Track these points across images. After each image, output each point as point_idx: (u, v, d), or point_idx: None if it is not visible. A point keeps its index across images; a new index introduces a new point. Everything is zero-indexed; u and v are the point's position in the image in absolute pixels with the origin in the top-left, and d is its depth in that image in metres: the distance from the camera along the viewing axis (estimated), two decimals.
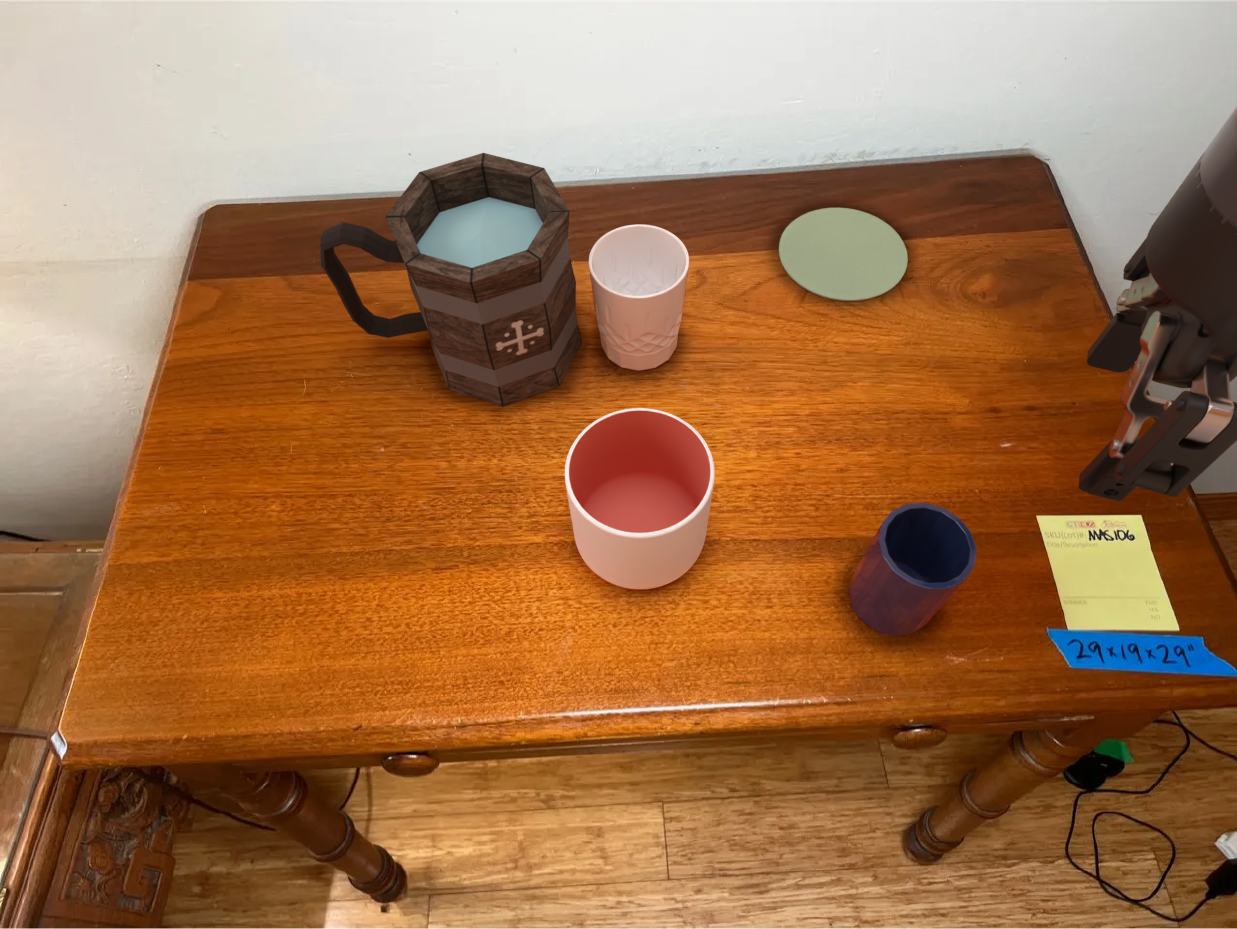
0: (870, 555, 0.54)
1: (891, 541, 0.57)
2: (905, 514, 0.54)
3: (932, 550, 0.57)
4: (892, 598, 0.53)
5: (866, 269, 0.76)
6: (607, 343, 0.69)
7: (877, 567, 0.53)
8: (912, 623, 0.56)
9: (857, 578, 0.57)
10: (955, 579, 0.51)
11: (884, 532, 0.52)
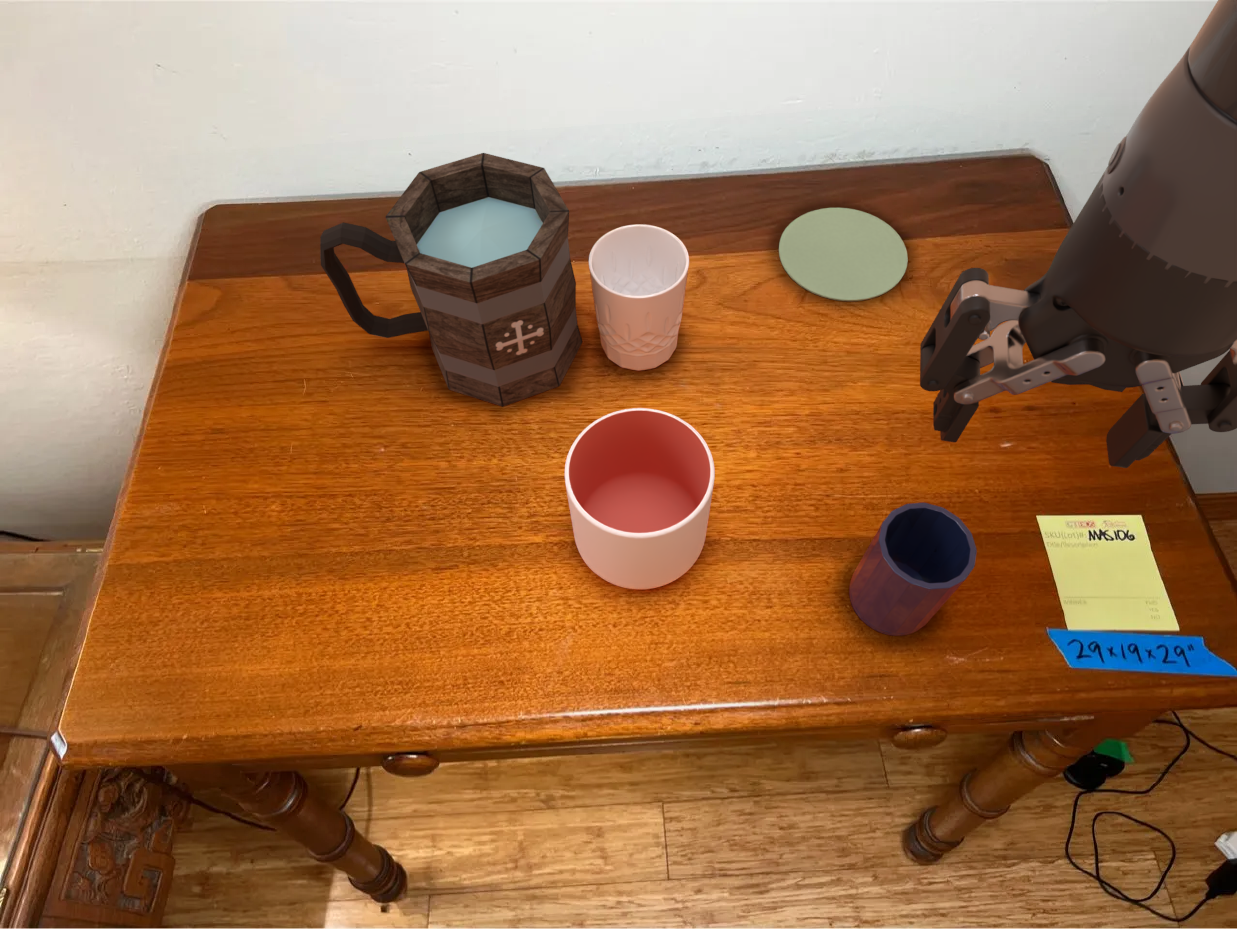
0: (870, 555, 0.54)
1: (891, 541, 0.57)
2: (905, 514, 0.54)
3: (932, 550, 0.57)
4: (892, 598, 0.53)
5: (866, 269, 0.76)
6: (607, 343, 0.69)
7: (877, 567, 0.53)
8: (912, 623, 0.56)
9: (857, 578, 0.57)
10: (955, 579, 0.51)
11: (884, 532, 0.52)
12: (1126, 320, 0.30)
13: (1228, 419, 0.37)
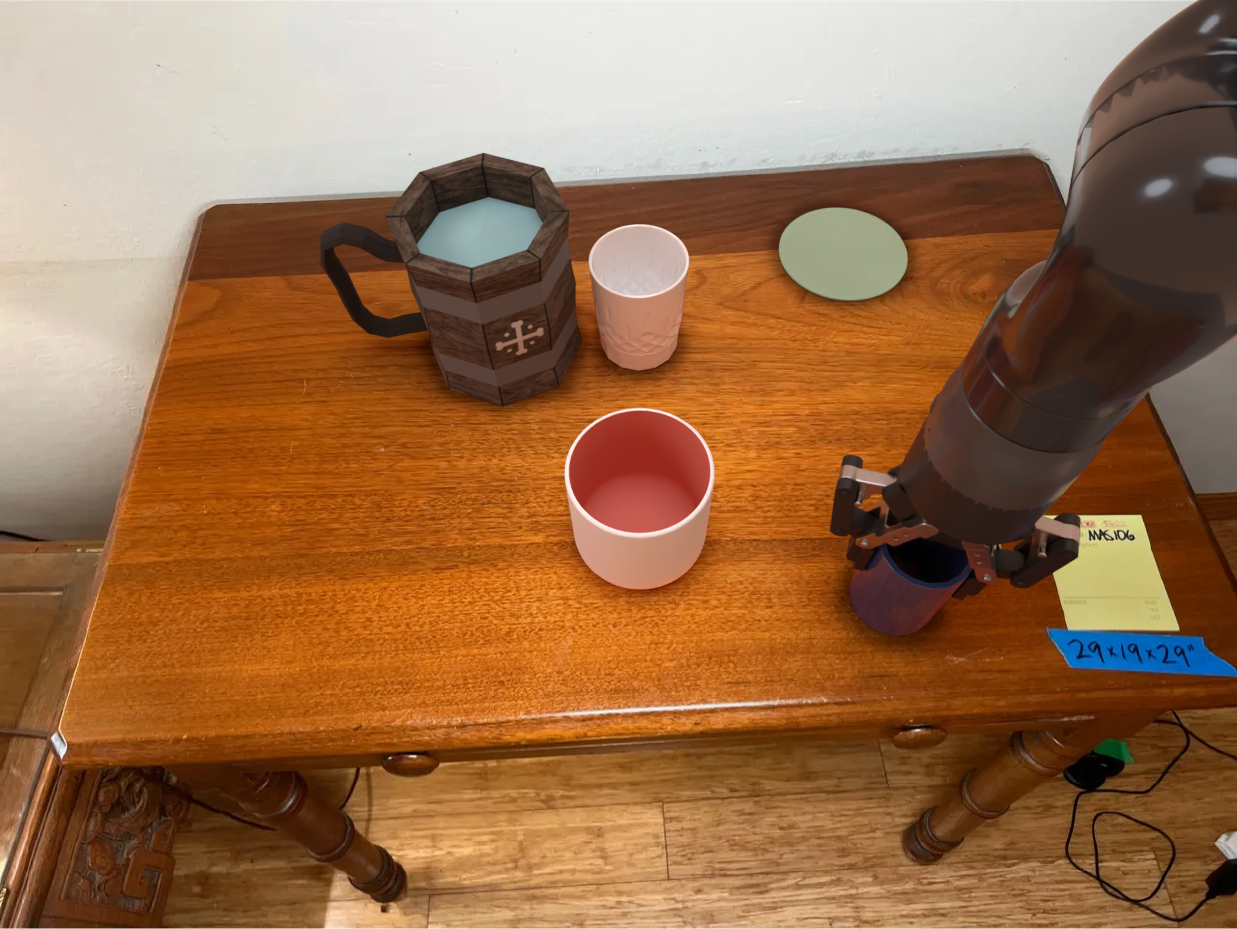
0: None
1: None
2: None
3: (932, 550, 0.57)
4: (892, 598, 0.53)
5: (866, 269, 0.76)
6: (607, 343, 0.69)
7: (877, 567, 0.53)
8: (912, 623, 0.56)
9: (857, 578, 0.57)
10: (955, 579, 0.51)
11: None
12: (935, 514, 0.43)
13: (1023, 581, 0.49)
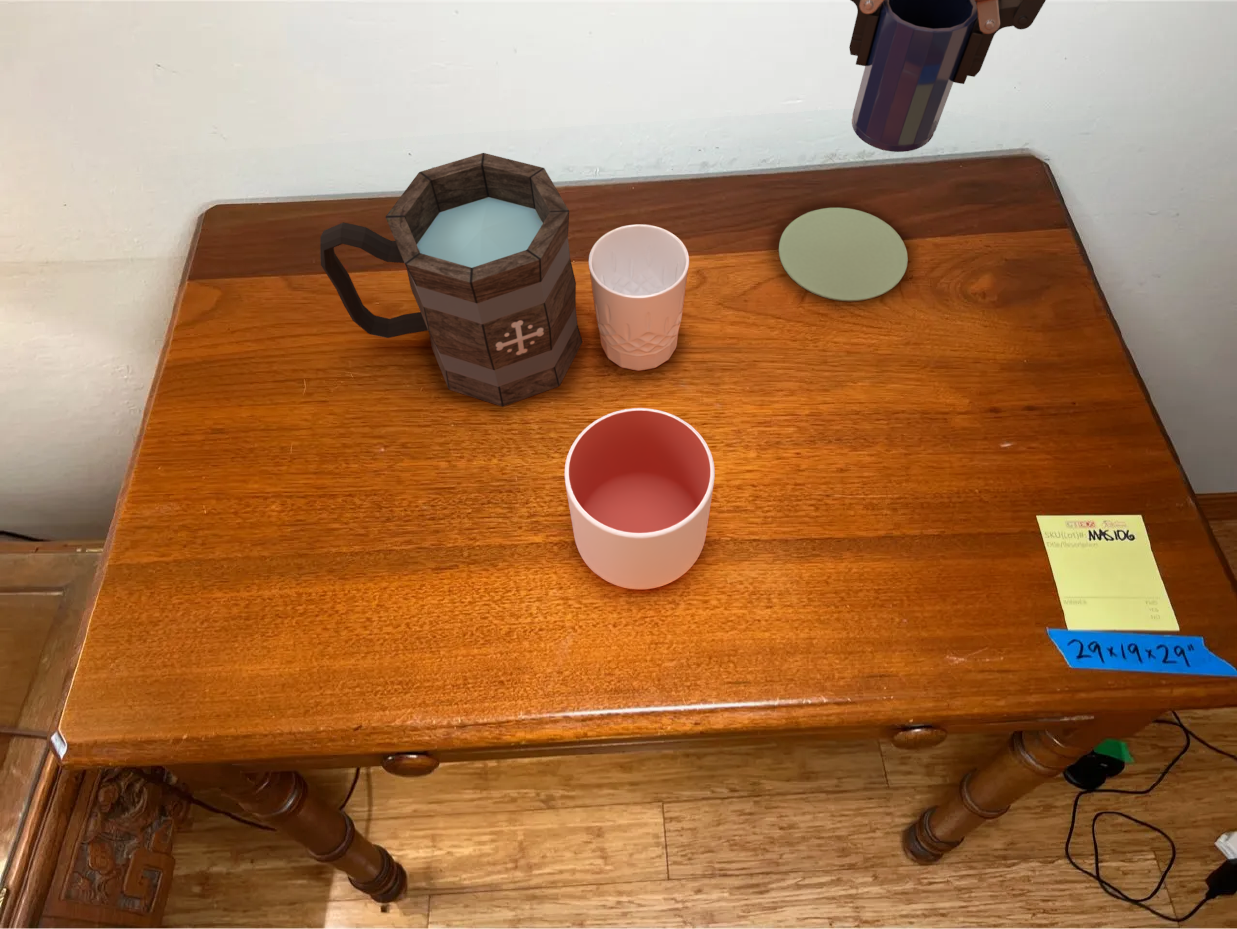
0: (873, 36, 0.54)
1: None
2: None
3: None
4: (895, 73, 0.54)
5: (866, 269, 0.76)
6: (607, 343, 0.69)
7: (880, 37, 0.53)
8: (915, 120, 0.56)
9: (860, 88, 0.58)
10: (958, 25, 0.51)
11: None
12: None
13: (1025, 13, 0.50)
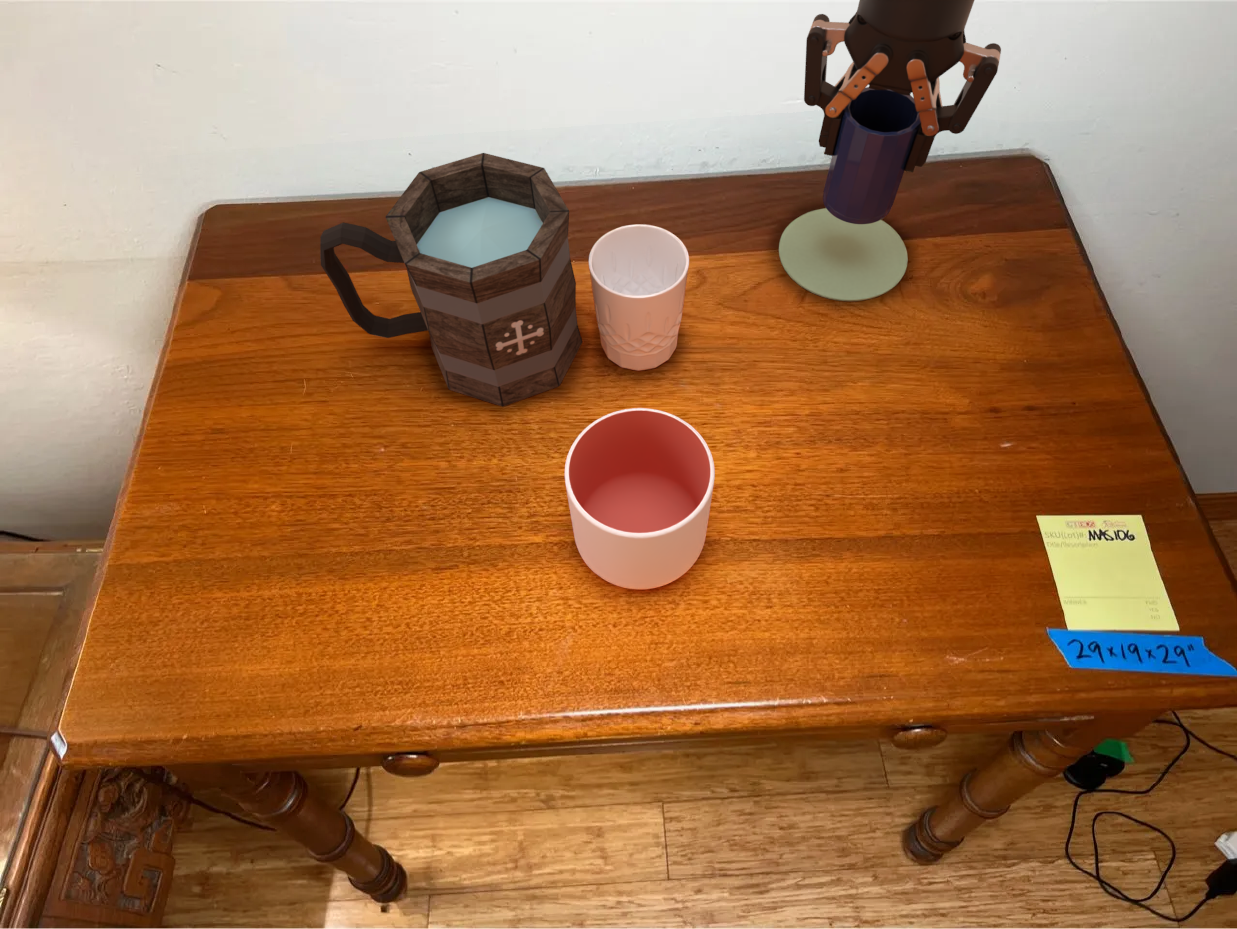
0: (838, 133, 0.66)
1: None
2: (866, 97, 0.66)
3: None
4: (855, 164, 0.65)
5: (866, 269, 0.76)
6: (607, 343, 0.69)
7: (843, 135, 0.65)
8: (873, 200, 0.68)
9: (828, 172, 0.69)
10: (905, 129, 0.63)
11: None
12: (882, 15, 0.55)
13: (958, 121, 0.61)
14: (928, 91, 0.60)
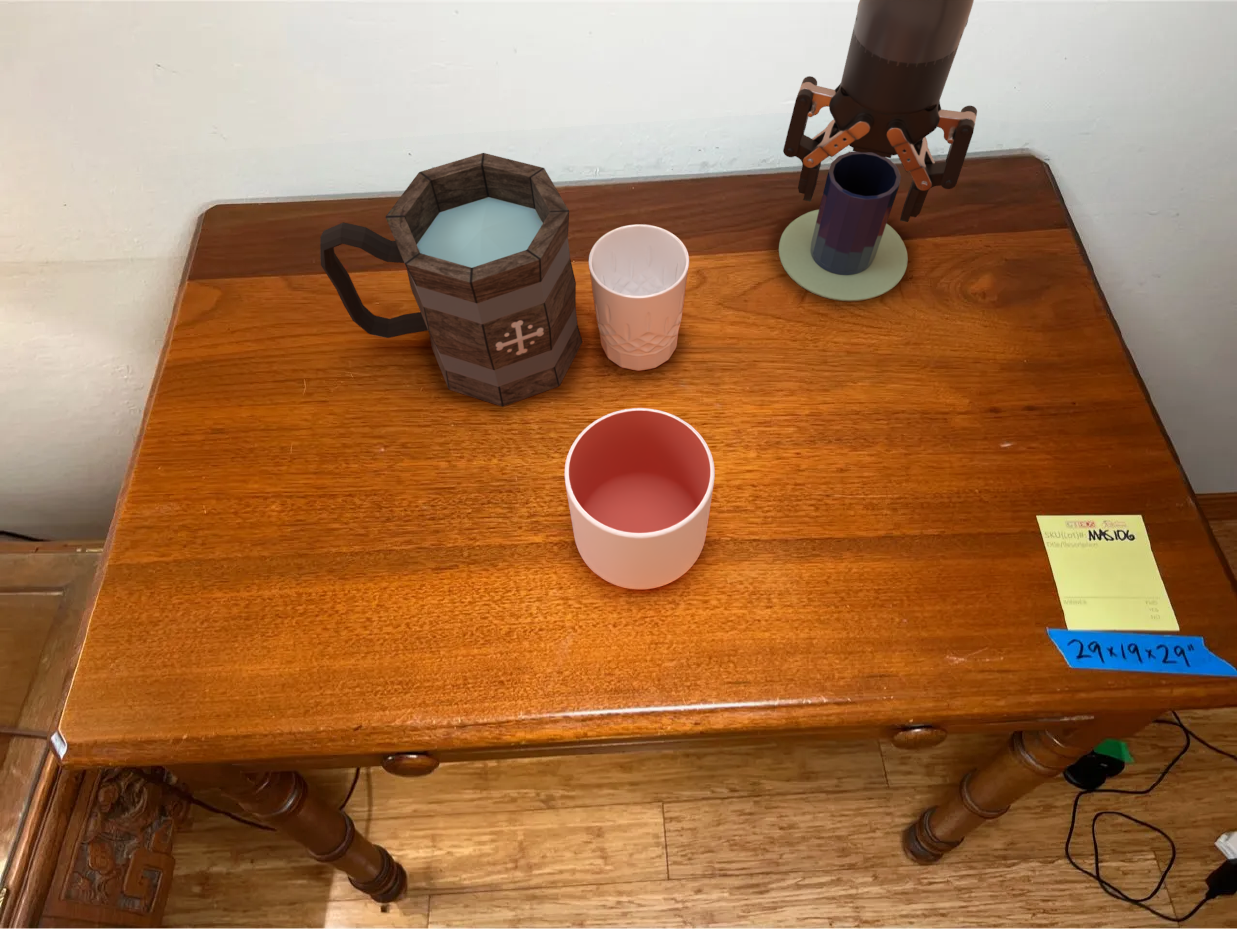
0: (823, 194, 0.71)
1: None
2: (849, 161, 0.71)
3: None
4: (839, 223, 0.71)
5: (866, 269, 0.76)
6: (607, 343, 0.69)
7: (827, 197, 0.70)
8: (856, 254, 0.73)
9: (815, 227, 0.75)
10: (884, 193, 0.68)
11: (832, 167, 0.70)
12: (863, 91, 0.60)
13: (949, 178, 0.66)
14: (912, 153, 0.64)
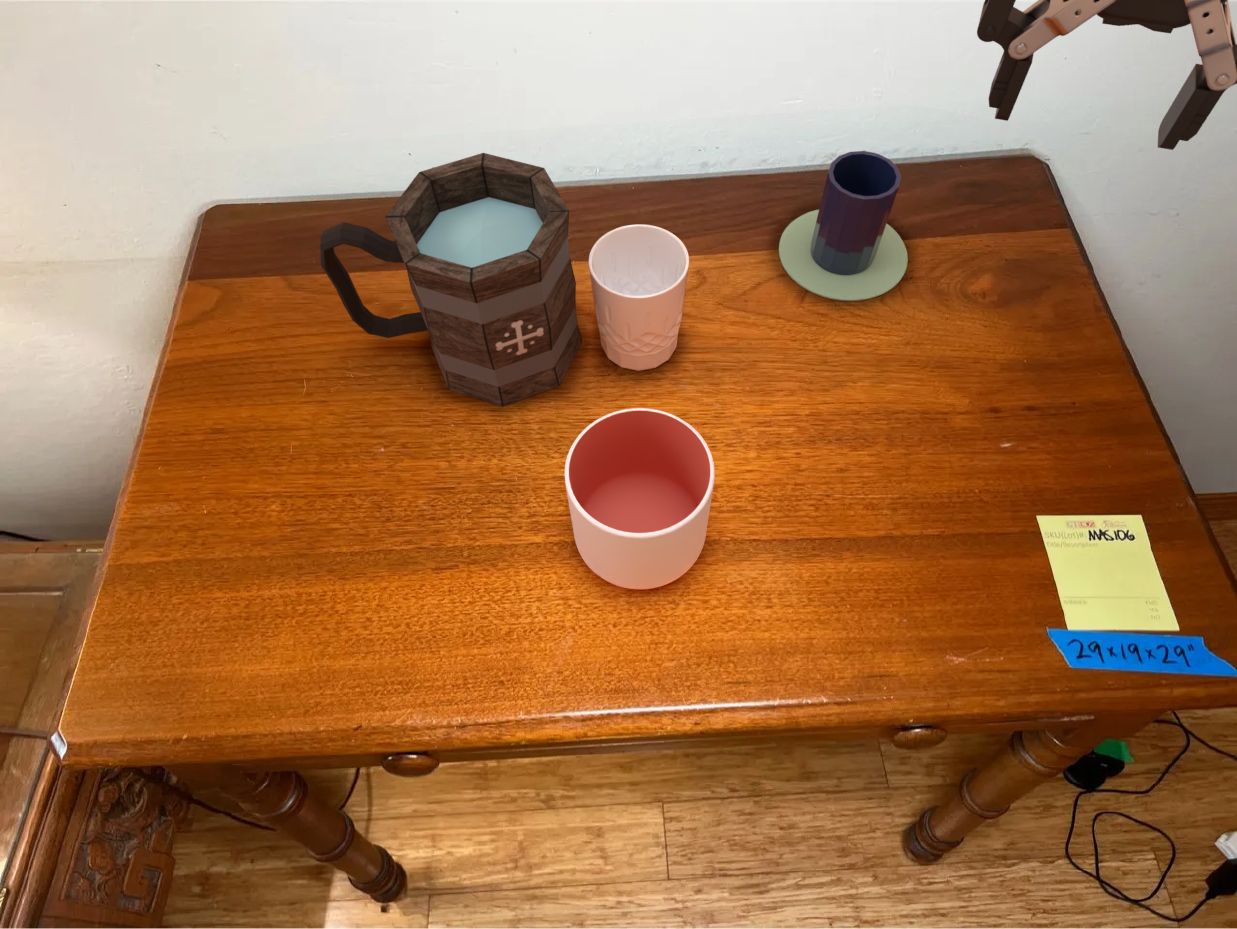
0: (823, 194, 0.71)
1: None
2: (849, 161, 0.71)
3: None
4: (839, 223, 0.71)
5: (866, 269, 0.76)
6: (607, 343, 0.69)
7: (827, 197, 0.70)
8: (856, 254, 0.73)
9: (815, 227, 0.75)
10: (884, 193, 0.68)
11: (832, 167, 0.70)
12: None
13: None
14: (1221, 18, 0.37)
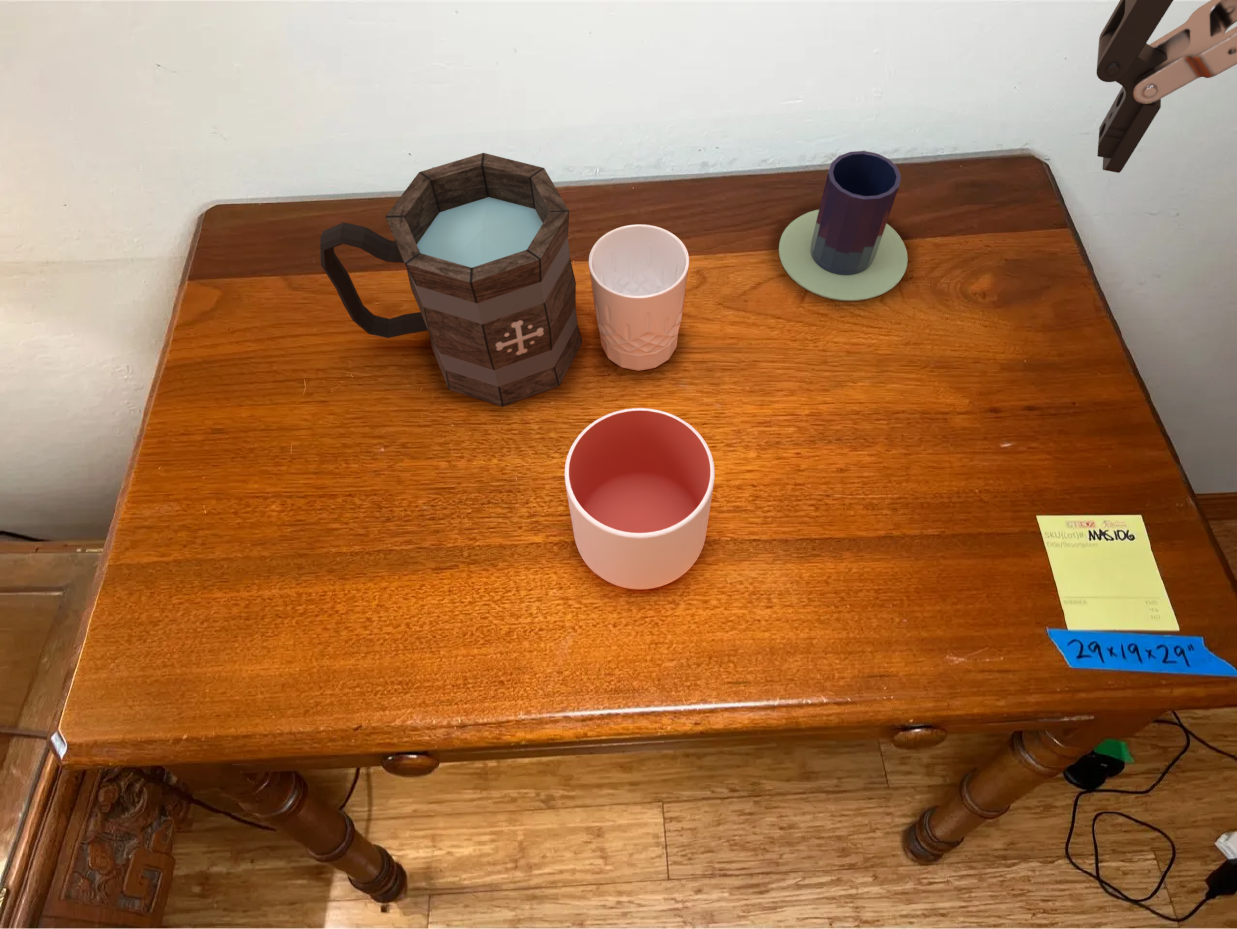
0: (823, 194, 0.71)
1: None
2: (849, 161, 0.71)
3: None
4: (839, 223, 0.71)
5: (866, 269, 0.76)
6: (607, 343, 0.69)
7: (827, 197, 0.70)
8: (856, 254, 0.73)
9: (815, 227, 0.75)
10: (884, 193, 0.68)
11: (832, 167, 0.70)
12: None
13: None
14: None
